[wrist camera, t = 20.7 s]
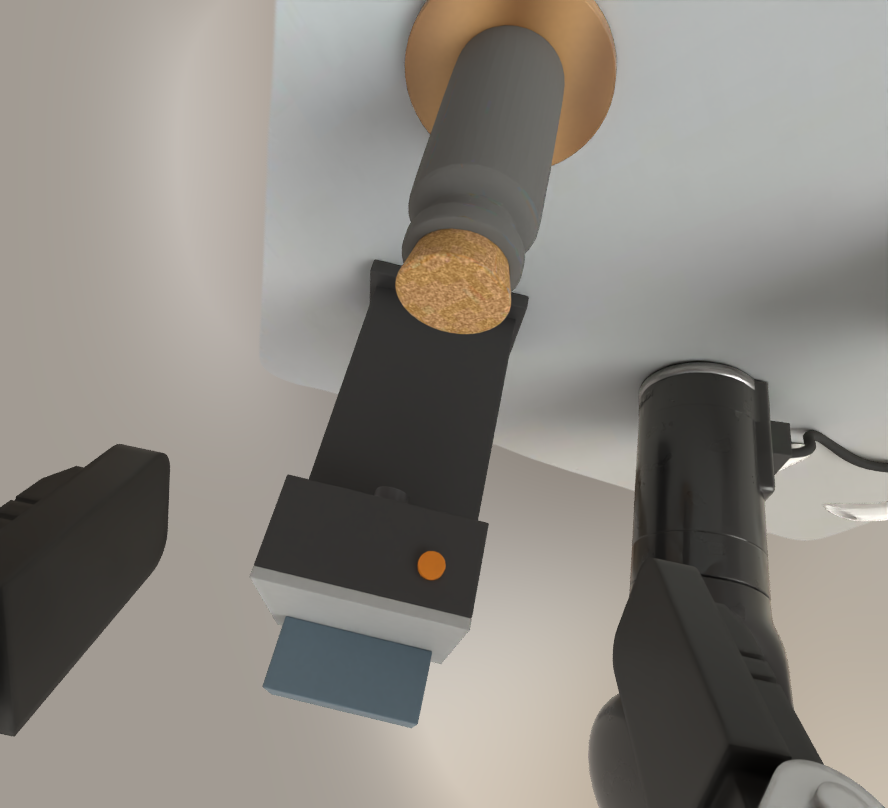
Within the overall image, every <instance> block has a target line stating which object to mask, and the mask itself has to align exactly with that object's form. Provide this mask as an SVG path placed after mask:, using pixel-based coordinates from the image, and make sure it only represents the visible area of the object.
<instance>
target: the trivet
mask: <svg viewBox="0 0 888 808" xmlns="http://www.w3.org/2000/svg"><path fill="white" fill-rule="evenodd" d="M504 25H513V26H519V27H523V28H527V29H530V30H532V31H534V32H536V33H537V34H539V35H540V36H542V37H543V38H544V39H546V40H547V41H548V42H549V43H550V44H551V46H552V47H553V48H554V49H555V51H556V53H557V54H558V56H559V58H560V61H561V63H562V66H563V71H564V79H565V87H564V95H563V101H562V108H561V114H560V119H559V125H558V131H557V136H556V142H555V148H554V153H553V159H552V164H551V166H552V165H555V164H557V163H559V162H561V161H563V160H565V159H566V158H568V157H570V156H571V155H573V154H574V153H576V152H577V151H578V150H579V149H581V148H582V147H583V146H584V145H585V144H586V143H587V142H588V141H589V140H590V139H591V138H592V137H593V135H594V134H595V133H596V131H597V130H598V129H599V127H600V126H601V124H602V122H603V120H604V119H605V117H606V115H607V112H608V110H609V107H610V105H611V101H612V97H613V94H614V88H615V79H616V70H617V67H616V51H615V45H614V40H613V37H612V34H611V30H610V27H609V25H608V23H607V21H606V19H605V17H604V15H603V13H602V11H601V10H600V8H599V7H598V5H597V4H596V2H595V1H594V0H427V1H426V2H425V3H424V5H423V7H422V8H421V10H420V12H419V14H418V16H417V18H416V20H415V22H414V25H413V27H412V30H411V33H410V35H409V38H408V43H407V47H406V54H405V78H406V84H407V90H408V93H409V96H410V100H411V103H412V105H413V107H414V110H415V112H416V114H417V116H418V117H419V119H420V121H421V122H422V124H423V126H424V127H425V128H426V129H427V131H428V132H429V133H430V134H431V131H432V128H433V125H434V123H435V120H436V117H437V114H438V111H439V108H440V105H441V102H442V99H443V96H444V94H445V91H446V88H447V85H448V83H449V80H450V77H451V74H452V72H453V69H454V66H455V64H456V61H457V59H458V57H459V55H460V53H461V51H462V49H463V48H464V47H465V45H466V44H467V43H468V42H469V41H470V40H471V39H472V38H473V37H475V36H476V35H477V34H479V33H481V32H482V31H484V30H486V29H489V28H492V27H497V26H504Z"/></svg>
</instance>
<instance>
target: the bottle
mask: <svg viewBox="0 0 888 808" xmlns="http://www.w3.org/2000/svg"><path fill="white" fill-rule="evenodd" d="M564 87H565V79H564V71H563V66H562V63H561V61H560V58H559V56H558V54H557V53H556V51H555V49H554V48H553V47H552V46H551V44H550V43H549V42H548V41H547V40H546V39H544V38H543V37H542V36H540V35H539V34H537V33H536V32H534V31H532V30H530V29H527V28H523V27H519V26H513V25H504V26H497V27H492V28H489V29H486V30H484V31H482V32H481V33H479V34H477V35H476V36H475V37H473V38H472V39H471V40H470V41H469V42H468V43H467V44H466V45H465V47H464V48H463V49H462V51H461V53H460V55H459V57H458V59H457V61H456V64H455V66H454V69H453V72H452V74H451V77H450V80H449V83H448V85H447V88H446V91H445V94H444V96H443V99H442V102H441V105H440V108H439V111H438V114H437V117H436V120H435V123H434V125H433V128H432V131H431V134H430V137H429V140H428V143H427V146H426V149H425V152H424V155H423V157H422V160H421V163H420V166H419V169H418V172H417V175H416V178H415V181H414V184H413V188H412V191H411V194H410V199H409V217H410V221H411V223H410V225H409V227H408V229H407V232H406V234H405V237H404V240H403V245H402V258H403V263H404V264H403V265H402V267H401V268H400V270H399V271H398V274H397V277H396V282H395V286H396V292H397V295H398V298H399V300H400V302H401V303H402V305H403V306H404V308H405V309H406V310H407V311H408V312H409V313H410V314H411V315H412V316H414V317H415V318H416V319H418V320H419V321H421V322H422V323H424V324H426V325H428V326H430V327H433V328H435V329H438V330H441V331H445V332H449V333H456V334H475V333H481V332H484V331H487V330H490V329H492V328H494V327H496V326H497V325H499V324H500V323H501V322H502V321H503V320H504V319H505V318H506V316H507V315H508V313H509V311H510V307H511V292H512V291H513V290H514V289H515V287H516V286H517V285H518V283H519V281H520V279H521V276H522V271H523V267H524V260H525V253H526V252H527V251H528V250H529V249H530V247H531V246H532V244H533V243H534V241H535V239H536V237H537V233H538V230H539V226H540V222H541V217H542V212H543V207H544V201H545V196H546V191H547V186H548V181H549V175H550V170H551V164H552V159H553V153H554V148H555V142H556V136H557V131H558V125H559V119H560V114H561V108H562V101H563V95H564Z"/></svg>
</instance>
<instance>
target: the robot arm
mask: <svg viewBox="0 0 888 808" xmlns="http://www.w3.org/2000/svg"><path fill="white" fill-rule="evenodd" d="M803 440H804V444H805V446H803V447H800V448H792V446H791V435H790V424H789V423H783V422H776V421H770V409H769V395H768V383H767V382H762V381H756V380H753V379H752V378H751V377H750V376H749V375H747V374H746V373H744V372H742V371H740V370H738V369H736V368H733V367H730V366H726V365H722V364H716V363H705V362H695V363H684V364H678V365H674V366H670V367H667V368H664V369H662V370H659V371H657V372H655V373H654V374H652V375H651V376H649V377H648V378H647V379H646V380H645V381H644V382H643V384H642V385H641V387H640V390H639V427H638V444H637V463H636V482H635V501H634V520H633V539H632V558H631V577H630V594H629V599H628V601H627V604H626V607H625V609H624V612H623V615H622V617H621V620H620V623H619V625H618V628H617V631H616V635H615V639H614V646H613V668H614V673H615V677H616V682H617V686H618V689H619V694H617V695H616V696H614V697H612V698H611V699H610V700H609V701H608V702H607V703H606V704H605V705H604V706H603V707H602V709H601V711H600V712H599V714H598V715H597V717H596V719H595V722H594V724H593V727H592V730H591V734H590V740H589V754H588V758H589V771H590V777H591V782H592V787H593V790H594V794H595V797H596V800H597V803H598V806H599V808H885V807H884V806H883V805H882V804H881V803H880V802H879V801H878V800H877V799H876V798H874V797H873V796H872V795H871V794H870V793H869V792H868V791H866V790H865V789H864V788H863V787H862V786H860V785H859V784H857V783H856V782H854V781H853V780H852V779H850V778H848V777H847V776H845V775H843V774H842V773H840V772H838V771H836V770H834V769H832V768H830V767H828V766H825V765H824V764H823V762H822V760H821V759H820V757H819V755H818V753H817V751H816V749H815V748H814V746H813V744H812V742H811V740H810V738H809V737H808V735H807V733H806V731H805V730H804V728H803V726H802V724H801V722H800V720H799V718H798V717H797V715H796V713H795V711H794V707H793V700H792V691H791V682H790V674H789V667H788V660H787V655H786V652H785V649H784V646H783V643H782V641H781V639H780V636H779V635H778V633H777V630H776V628H775V626H774V624H773V620H772V612H771V598H770V583H769V566H768V550H767V535H766V516H765V501H766V500H767V499H768V498H769V497H770V496H771V495H772V494H773V492H774V490H775V479H774V475H775V474H776V473H777V472H778V471H779V470H780V469H781V468H782V467H783V465H784V464H785V463H786V462H787V461H788V460H789V459H790V458H799V457H805V456H808V455H810V454H812V453H813V452H814V451H815V449H816V443H815V440H816V441H818V442H819V443H821V444H823V445H824V446H825V447H827V448H828V449H829V450H831V451H832V452H833V453H835V454H836V455H838V456H839V457H841V458H842V459H844V460H845V461H847V462H849V463H851V464H853V465H856V466H858V467H862V468H865V469H869V470H874V471H880V472H888V463H881V462H874V461H870V460H866V459H863V458H861V457H858V456H856V455H854V454H853V453H851V452H849V451H848V450H846V449H845V448H843V447H842V446H840V445H838V444H837V443H835V442H834V441H832V440H831V439H829V438H828V437H826V436H825V435H823V434H822V433H820V432H817V431H814V430H813V431H807V432H805V434H804V435H803ZM169 477H170V463H169V459H168V457H167V455H166V454H164V453H160V452H155V451H151V450H146V449H141V448H136V447H132V446H127V445H123V444H117V445H115V446H113V447H111V448H110V449H109V450H107V451H106V452H105V453H103V454H102V455H100V456H99V457H98V458H96V459H95V460H94V461H92V462H91V463H90V464H88V465H87V466H85V467H84V468H83V467H79V466H75V467H72V468H70V469H67V470H64V471H61V472H59V473H56V474H53V475H50V476H47V477H45V478H42V479H41V480H39V481H38V482H36V483H35V484H33V485H32V486H31V487H29V488H28V489H26V490H25V491H23V492H22V493H20V494H19V495H17V496H16V499H15V501H13V500H10V501H9V502H7V503H6V504H4V505H3V506H2V507H0V734H4V735H9V736H15V735H16V734H17V733H18V731H20V729H21V728H22V727H23V726H24V725H25V723H26V722H27V721H28V720H29V719H30V717H31V716H32V715H33V714H34V713H35V711H36V710H37V709H38V708H39V707H40V706H41V704H42V703H43V702H44V701H45V700H46V698H47V697H48V696H49V695H50V694H51V692H52V691H53V690H54V688H55V687H56V686H57V685H58V684H59V683H60V682H61V681H62V679H63V678H64V677H65V676H66V675H67V673H68V672H69V671H70V670H71V668H72V667H73V666H74V665H75V664H76V663H77V661H78V660H79V659H80V658H81V657H82V655H83V654H84V653H85V652H86V651H87V650H88V648H89V647H90V646H91V645H92V644H93V642H94V641H95V640H96V639H97V638H98V636H99V635H100V634H101V633H102V632H103V630H104V629H105V628H106V627H107V626H108V624H109V623H110V622H111V621H112V620H113V618H114V617H115V616H116V615H117V614H118V613H119V611H120V610H121V609H122V608H123V607H124V605H125V604H126V603H127V602H128V601H129V600H130V598H131V597H132V596H133V595H134V594H135V592H136V591H137V590H138V589H139V588H140V586H141V585H142V584H143V583H144V582H145V580H146V579H147V578H148V577H149V576H150V574H151V573H152V572H153V571H154V569H155V568H156V566H157V564H158V562H159V561H160V558H161V556H162V554H163V551H164V548H165V544H166V540H167V531H168V530H167V529H168V505H169Z"/></svg>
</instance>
